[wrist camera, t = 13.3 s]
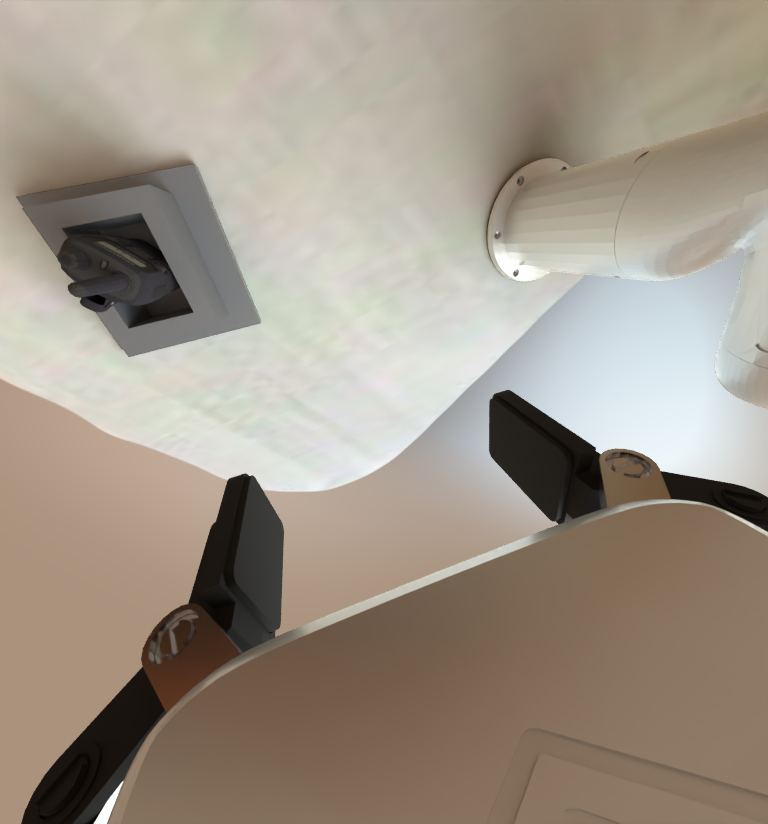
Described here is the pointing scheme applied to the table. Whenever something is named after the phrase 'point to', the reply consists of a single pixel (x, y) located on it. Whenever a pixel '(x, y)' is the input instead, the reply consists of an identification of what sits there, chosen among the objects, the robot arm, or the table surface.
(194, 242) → the charging dock
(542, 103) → the table surface
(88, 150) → the table surface
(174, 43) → the table surface
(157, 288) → the two-way radio
